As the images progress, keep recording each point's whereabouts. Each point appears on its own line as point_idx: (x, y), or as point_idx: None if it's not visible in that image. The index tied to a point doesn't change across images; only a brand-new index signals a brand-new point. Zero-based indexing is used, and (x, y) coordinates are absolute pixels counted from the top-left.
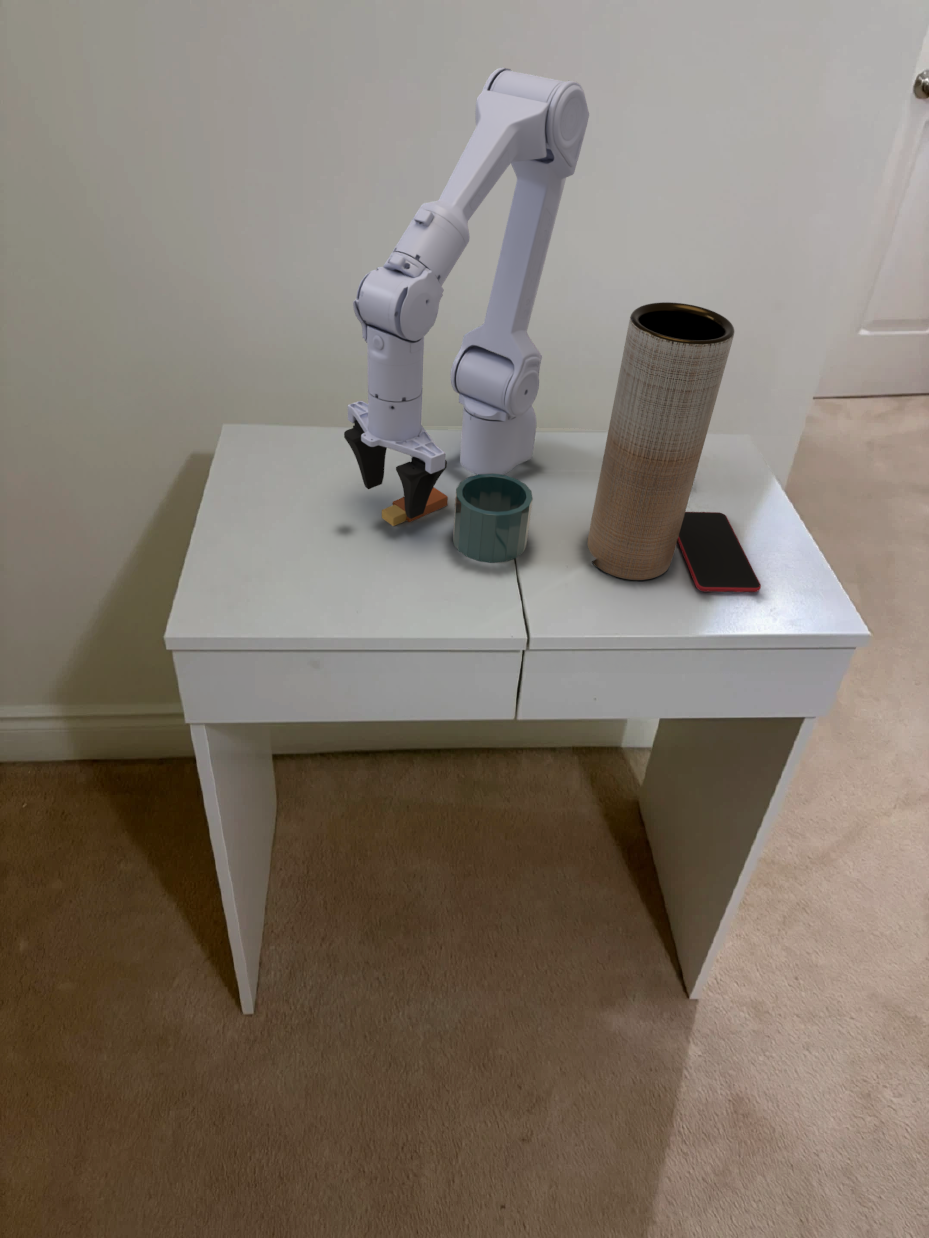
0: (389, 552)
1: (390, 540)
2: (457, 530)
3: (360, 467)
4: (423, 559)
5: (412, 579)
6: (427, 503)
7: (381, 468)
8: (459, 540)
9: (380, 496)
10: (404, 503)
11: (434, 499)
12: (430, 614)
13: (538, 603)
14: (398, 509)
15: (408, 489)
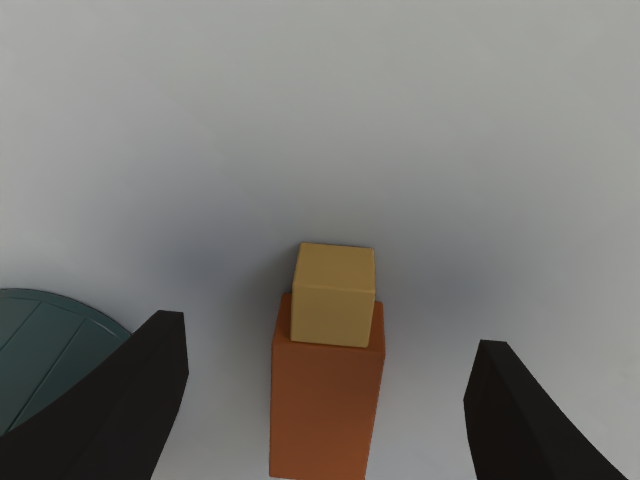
0: (217, 153)
1: (279, 208)
2: (7, 375)
3: (556, 422)
4: (107, 213)
5: (15, 97)
6: (281, 418)
7: (483, 471)
8: (3, 344)
9: None
10: (340, 372)
11: (284, 445)
12: None
13: None
14: (327, 334)
15: (18, 442)
